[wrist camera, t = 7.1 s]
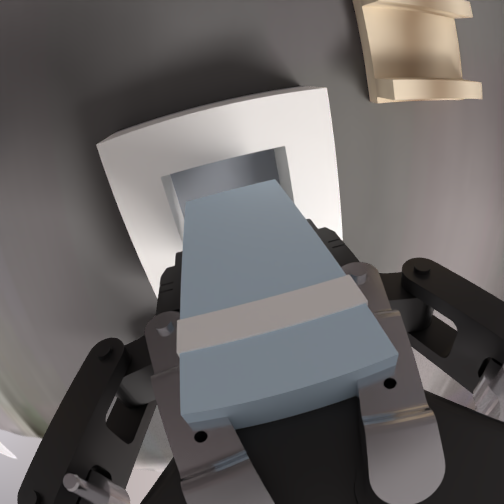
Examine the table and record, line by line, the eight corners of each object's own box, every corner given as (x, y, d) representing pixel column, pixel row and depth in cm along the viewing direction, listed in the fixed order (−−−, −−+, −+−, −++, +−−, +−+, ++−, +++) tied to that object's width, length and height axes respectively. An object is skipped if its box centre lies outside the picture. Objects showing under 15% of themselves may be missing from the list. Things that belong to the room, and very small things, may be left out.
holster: (441, 0, 13) (468, -3, 11) (455, 98, 18) (482, 104, 15) (349, -13, 13) (372, -24, 11) (369, 101, 17) (395, 106, 15)
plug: (276, 177, 13) (401, 351, 5) (289, 255, 16) (376, 437, 7) (184, 201, 13) (176, 413, 5) (208, 276, 15) (234, 477, 7)
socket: (300, 85, 16) (326, 87, 13) (322, 244, 22) (343, 275, 19) (116, 131, 16) (96, 144, 13) (171, 283, 22) (168, 321, 18)
